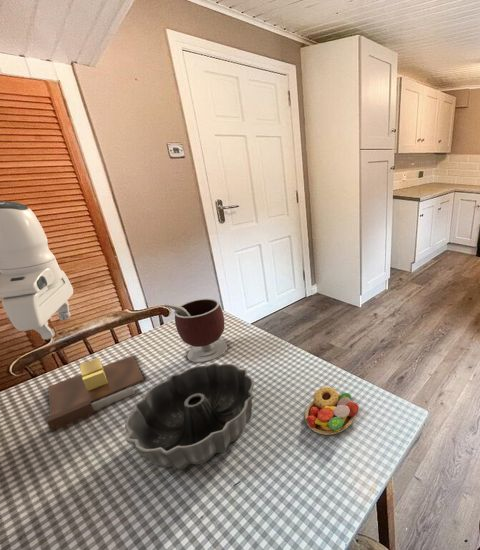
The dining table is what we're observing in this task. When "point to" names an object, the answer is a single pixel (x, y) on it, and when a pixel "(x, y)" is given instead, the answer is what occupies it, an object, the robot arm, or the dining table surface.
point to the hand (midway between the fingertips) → (58, 327)
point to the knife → (84, 410)
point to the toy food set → (330, 411)
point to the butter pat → (94, 380)
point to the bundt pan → (191, 415)
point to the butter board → (76, 391)
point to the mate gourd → (201, 328)
